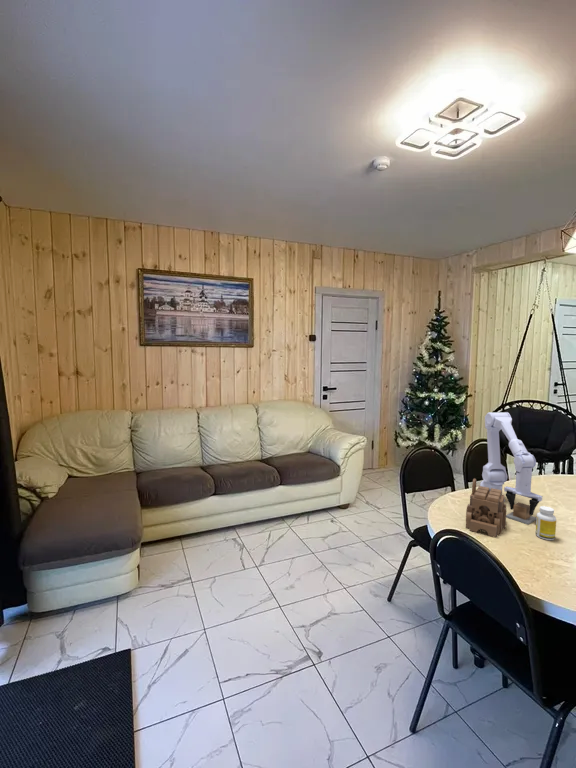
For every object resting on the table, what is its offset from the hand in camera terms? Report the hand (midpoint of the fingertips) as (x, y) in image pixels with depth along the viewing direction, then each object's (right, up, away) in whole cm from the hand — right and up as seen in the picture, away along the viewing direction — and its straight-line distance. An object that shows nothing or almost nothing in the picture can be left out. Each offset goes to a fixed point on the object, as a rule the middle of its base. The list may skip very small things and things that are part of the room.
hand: (521, 511), depth 166 cm
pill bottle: (-1, -4, -17) cm, 17 cm away
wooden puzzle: (-19, -4, -6) cm, 20 cm away
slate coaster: (0, -3, 0) cm, 3 cm away
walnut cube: (0, -2, 0) cm, 2 cm away
